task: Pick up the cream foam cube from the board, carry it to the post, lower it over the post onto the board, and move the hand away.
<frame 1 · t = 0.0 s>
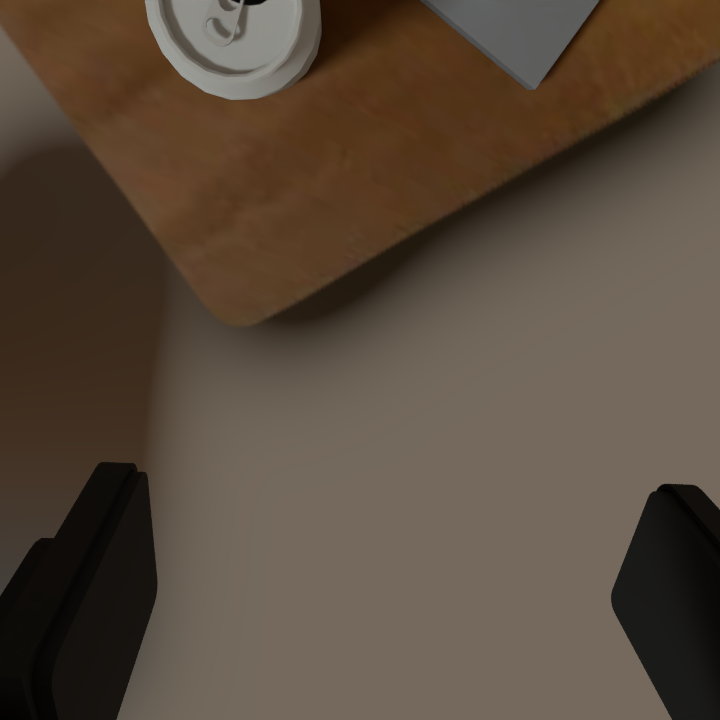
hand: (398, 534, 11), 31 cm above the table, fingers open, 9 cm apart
can: (259, 25, 34), on the table
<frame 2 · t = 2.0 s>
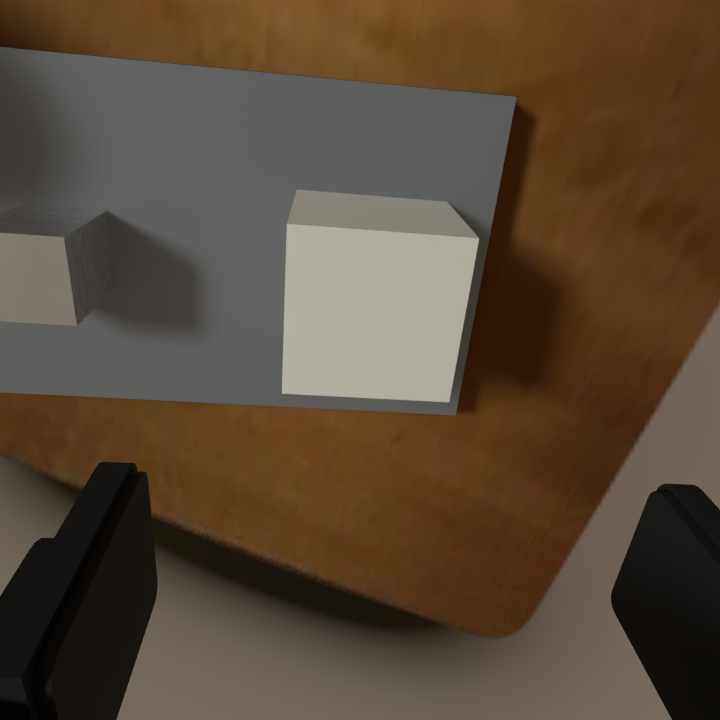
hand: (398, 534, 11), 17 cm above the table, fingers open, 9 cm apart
board: (226, 248, 25), on the table
post: (69, 247, 23), resting on board
cream foam cube: (365, 268, 24), point 1 cm above the table, touching board
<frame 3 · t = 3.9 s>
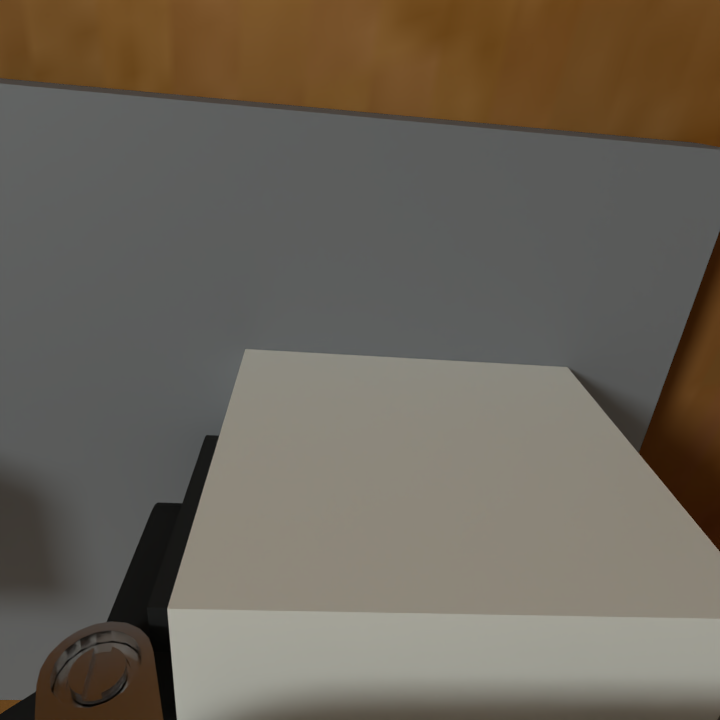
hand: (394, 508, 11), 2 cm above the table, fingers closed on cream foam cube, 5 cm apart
board: (117, 434, 13), on the table
cream foam cube: (392, 487, 12), point 2 cm above the table, touching board, gripper
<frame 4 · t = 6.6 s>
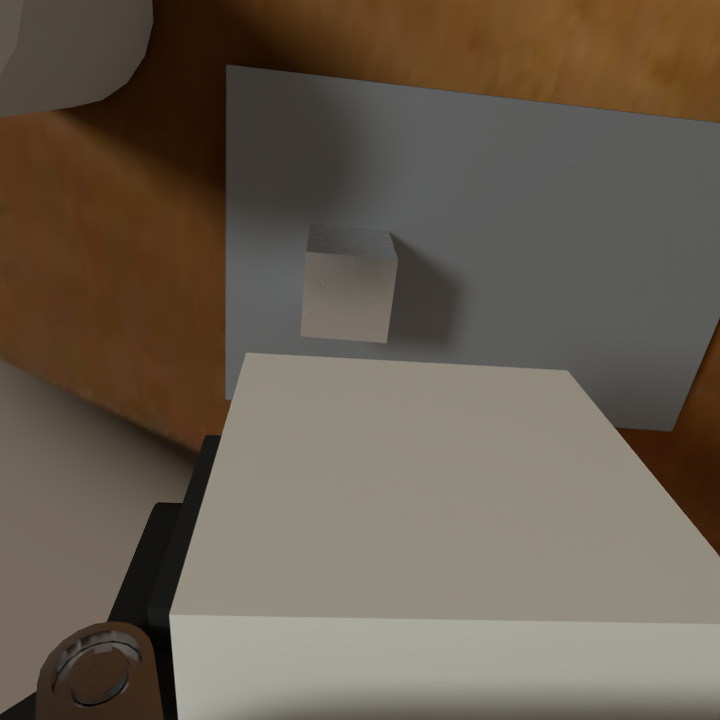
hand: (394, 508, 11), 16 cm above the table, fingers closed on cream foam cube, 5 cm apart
board: (477, 267, 26), on the table
post: (346, 265, 24), resting on board
cream foam cube: (392, 490, 12), point 15 cm above the table, touching gripper
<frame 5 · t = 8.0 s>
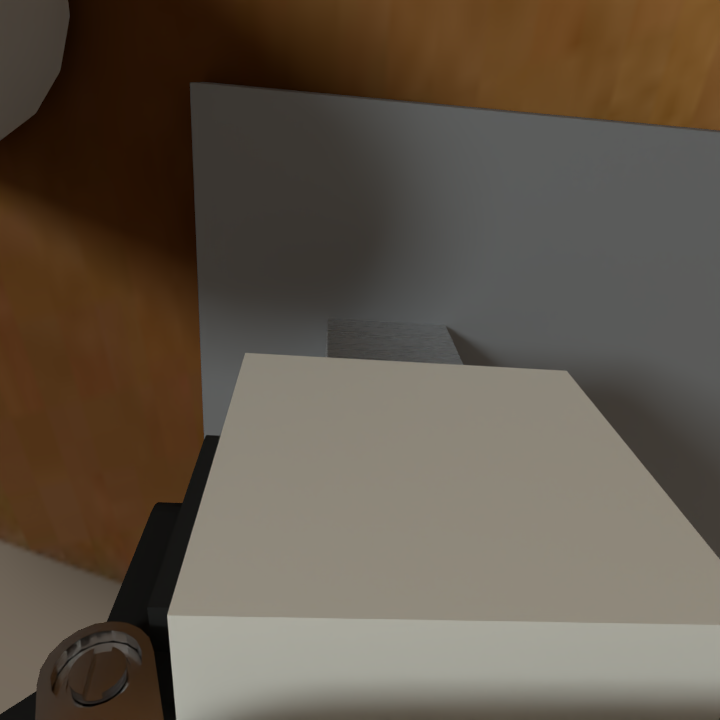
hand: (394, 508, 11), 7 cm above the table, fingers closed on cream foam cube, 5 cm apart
board: (566, 362, 18), on the table
post: (381, 373, 16), resting on board
cream foam cube: (391, 491, 12), point 6 cm above the table, touching gripper
when the fingers open (3 cm above the table, at t = 9.3 s): cream foam cube stays where it is, resting on board.
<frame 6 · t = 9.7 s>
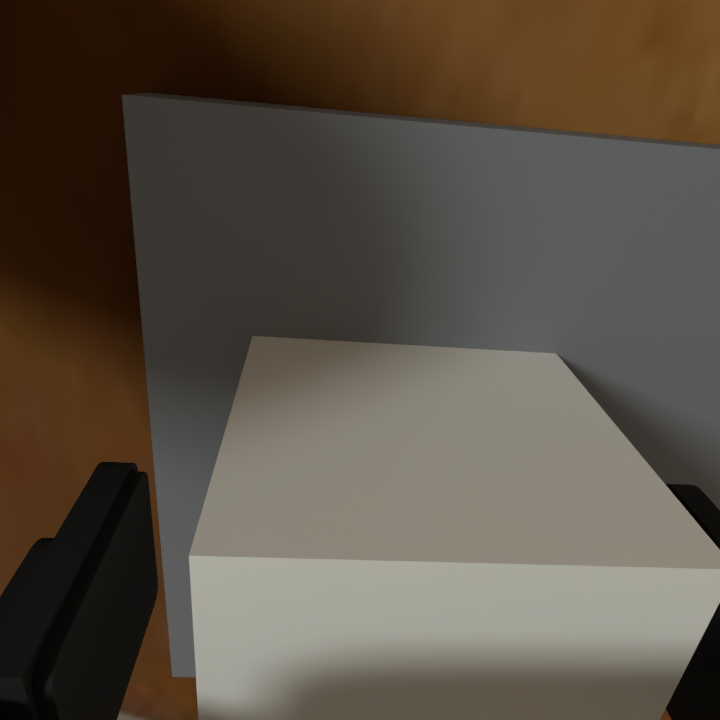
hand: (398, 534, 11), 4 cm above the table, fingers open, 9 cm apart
board: (620, 441, 14), on the table
cream foam cube: (390, 469, 12), point 1 cm above the table, touching board
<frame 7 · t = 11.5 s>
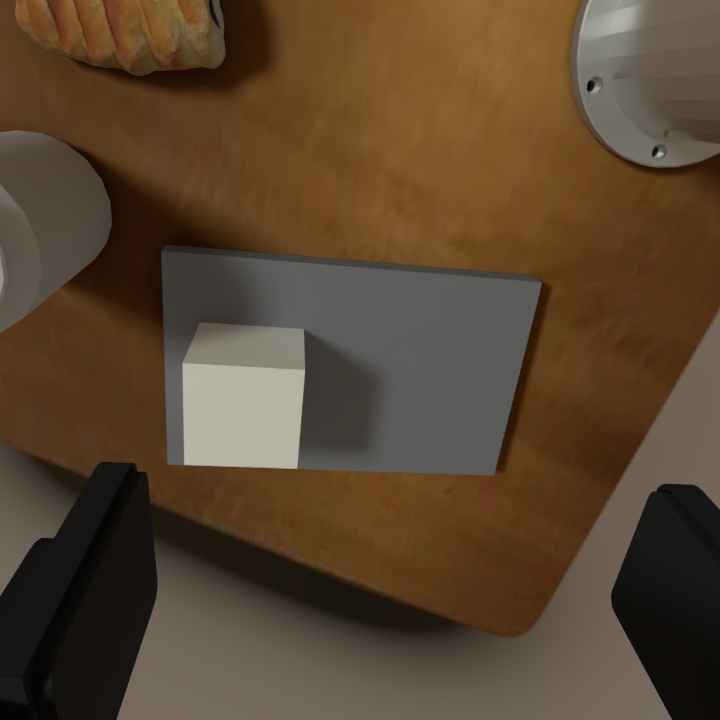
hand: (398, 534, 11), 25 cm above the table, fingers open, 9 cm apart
can: (45, 203, 31), on the table
pastry: (143, 4, 28), on the table
board: (346, 366, 37), on the table
cream foam cube: (250, 371, 35), point 1 cm above the table, touching board
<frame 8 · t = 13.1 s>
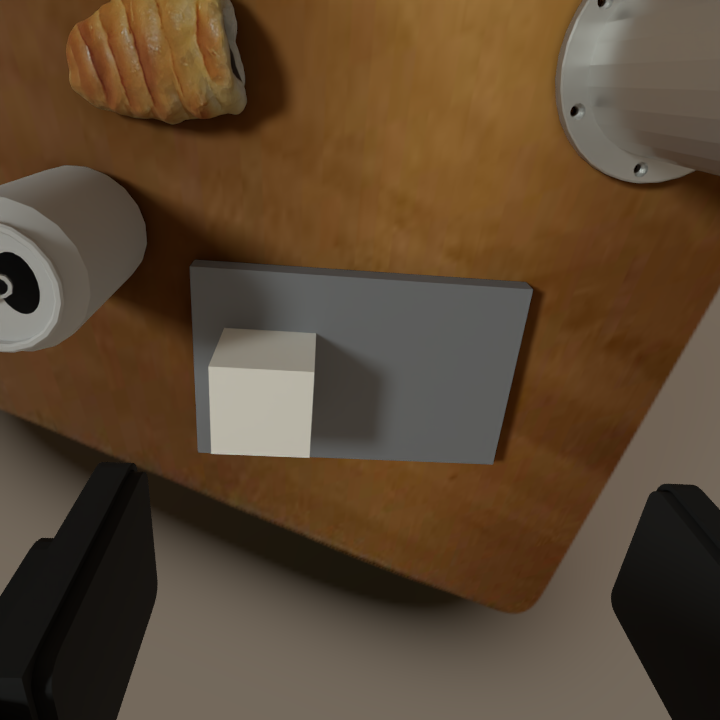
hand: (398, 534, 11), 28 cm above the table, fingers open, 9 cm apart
can: (90, 225, 36), on the table
pastry: (175, 61, 32), on the table
board: (355, 365, 41), on the table
cream foam cube: (269, 370, 39), point 1 cm above the table, touching board
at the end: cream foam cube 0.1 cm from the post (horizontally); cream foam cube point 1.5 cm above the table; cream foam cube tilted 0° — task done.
